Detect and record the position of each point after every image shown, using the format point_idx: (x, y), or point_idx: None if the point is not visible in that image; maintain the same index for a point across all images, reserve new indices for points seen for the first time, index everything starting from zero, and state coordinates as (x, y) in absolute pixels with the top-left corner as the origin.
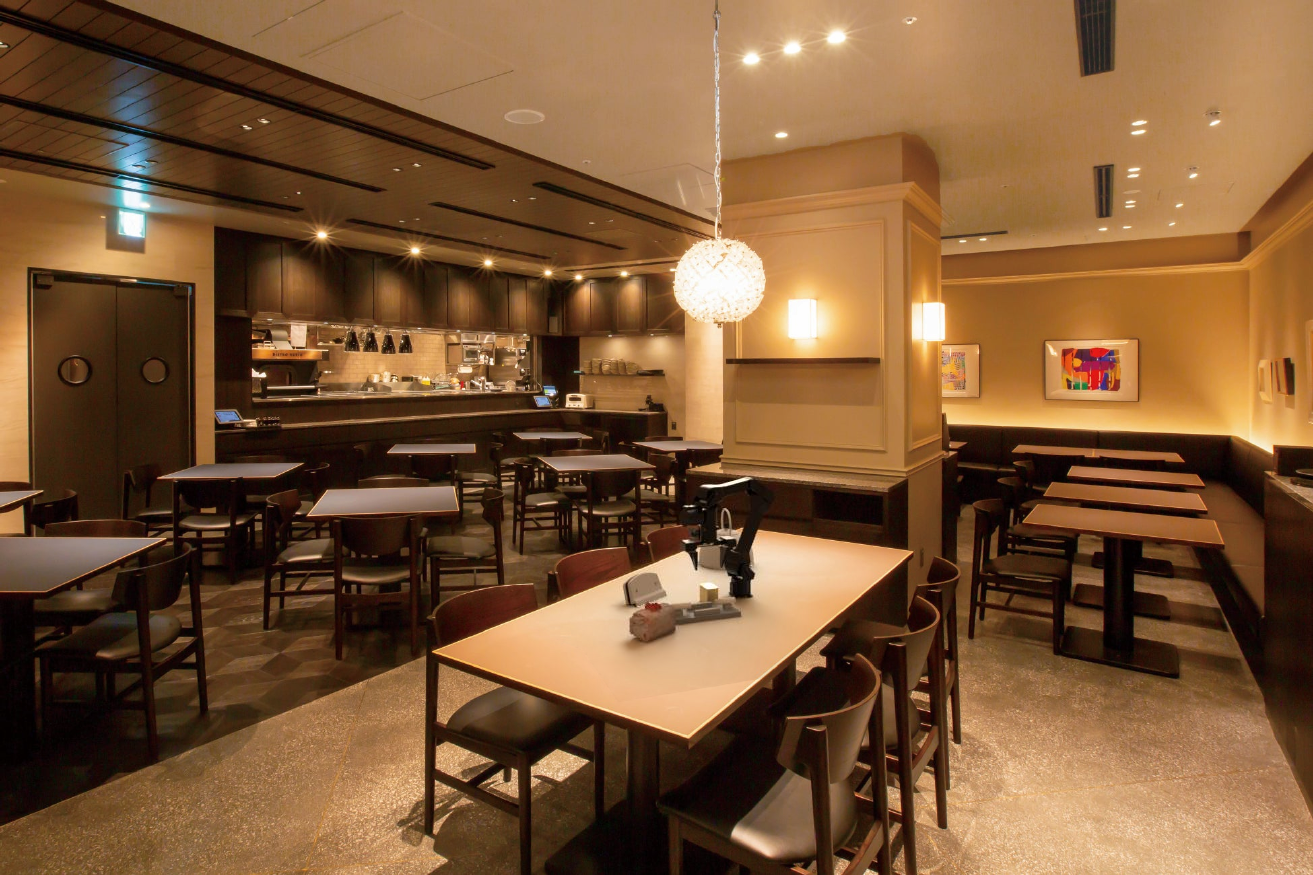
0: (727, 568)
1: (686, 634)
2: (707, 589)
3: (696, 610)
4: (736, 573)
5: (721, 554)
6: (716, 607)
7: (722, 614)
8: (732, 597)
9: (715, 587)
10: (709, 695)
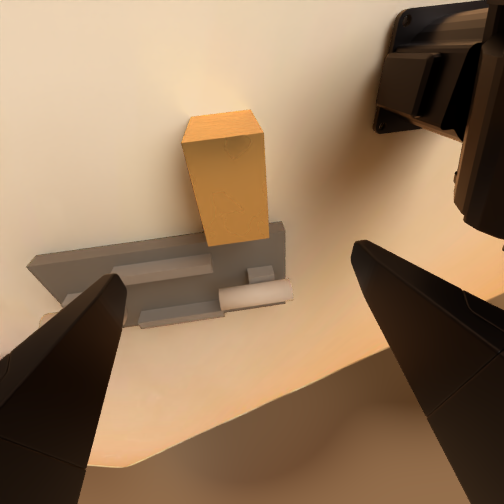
0: (483, 102)
1: (122, 359)
2: (209, 244)
3: (145, 324)
4: (454, 191)
5: (444, 356)
6: (227, 268)
7: (227, 310)
8: (285, 300)
9: (257, 230)
10: (148, 445)
